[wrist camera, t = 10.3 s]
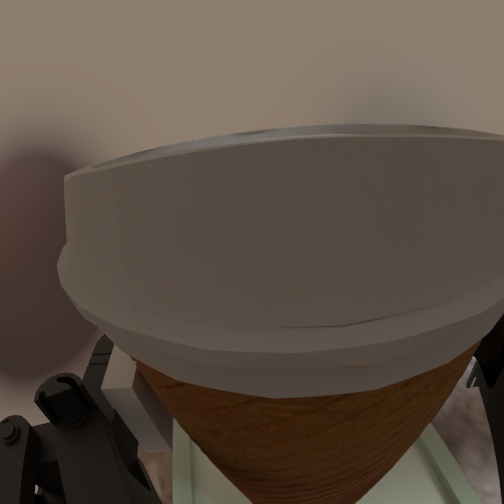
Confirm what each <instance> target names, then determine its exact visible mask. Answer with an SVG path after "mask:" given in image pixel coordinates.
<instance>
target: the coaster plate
mask: <svg viewBox="0 0 504 504" xmlns="http://www.w3.org/2000/svg"><path fill="white" fill-rule="evenodd" d="M172 496H173V504H252V503H251V501H250V500H249V499H248V498H247V497H246V496H245V495H243V493H242V492H240V491H239V490H238V488H236V487H235V486H234V485H233V484H232V483H231V482H230V481H229V480H228V479H227V478H226V477H225V476H224V475H223V474H222V473H221V471H220V470H219V469H217V468H216V466H215V465H214V464H213V463H212V462H211V461H210V460H209V459H208V457H207V456H206V455H205V454H204V453H203V452H202V451H201V450H200V448H199V447H198V446H197V445H196V444H195V443H194V442H193V441H192V440H191V438H190V437H189V435H188V434H187V433H186V432H185V431H184V430H183V429H182V428H181V427H180V425H179V424H178V422H177V420H175V419H174V417H173V452H172ZM355 504H482V502H481V500H480V499H479V497H478V495H477V494H476V492H475V490H474V489H473V487H472V486H471V484H470V482H469V481H468V479H467V477H466V476H465V474H464V473H463V471H462V469H461V468H460V466H459V465H458V463H457V461H456V460H455V458H454V457H453V455H452V454H451V452H450V451H449V449H448V447H447V446H446V444H445V443H444V441H443V440H442V438H441V437H440V435H439V434H438V432H437V431H436V429H435V428H434V426H433V425H432V423H431V422H430V423H429V424H428V426H427V427H426V428H425V429H424V431H423V432H422V434H421V435H420V436H419V438H418V439H417V440H416V441H415V443H414V444H413V445H412V446H411V447H410V448H409V449H408V450H407V452H406V453H405V454H404V455H403V456H402V457H401V458H400V460H399V461H398V462H397V463H396V464H395V465H394V467H393V468H392V469H391V470H390V471H389V472H388V473H387V474H386V475H385V476H384V477H383V478H382V479H381V480H380V481H379V482H378V483H377V484H376V485H375V486H374V487H373V488H372V489H370V490H369V491H368V492H367V494H366V495H364V496H363V497H362V498H361V499H360V500H359V501H358V502H357V503H355Z"/></svg>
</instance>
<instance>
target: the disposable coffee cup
mask: <svg viewBox="0 0 504 504" xmlns="http://www.w3.org/2000/svg"><path fill="white" fill-rule="evenodd" d="M64 186H65V187H64V189H65V191H64V192H65V217H66V232H67V244H66V245H65V246H64V247H63V250H62V252H61V255H60V258H59V261H58V264H57V268H58V273H59V278H60V283H61V286H62V287H63V289H64V290H65V292H66V293H67V295H68V296H69V298H70V299H71V301H72V302H73V303H74V305H75V306H76V308H77V309H78V310H79V312H80V313H81V314H82V316H83V317H84V318H85V319H86V320H88V321H89V322H91V323H92V324H94V325H96V326H97V327H99V328H100V329H101V330H102V331H103V332H104V334H105V335H106V336H107V337H108V338H109V339H110V340H111V341H112V342H113V343H114V344H115V345H116V346H117V347H118V348H119V349H120V350H121V351H123V352H124V353H126V354H128V355H129V356H130V357H131V359H132V360H133V361H137V362H136V364H135V365H136V367H137V369H138V370H139V372H140V373H141V374H142V376H143V377H144V378H145V380H146V381H147V382H148V384H150V385H151V388H152V390H153V392H154V393H155V394H156V395H157V397H158V398H159V399H160V400H161V402H162V403H163V404H164V405H165V407H166V409H167V410H168V411H169V413H170V414H171V415H172V416H173V417H174V419H175V420H177V422H178V424H179V425H180V427H181V428H182V429H183V430H184V431H185V432H186V433H187V434H188V435H189V437H190V438H191V440H192V441H193V442H194V443H195V444H196V445H197V446H198V447H199V448H200V450H201V451H202V452H203V453H204V454H205V455H206V456H207V457H208V459H209V460H210V461H211V462H212V463H213V464H214V465H215V466H216V468H217V469H219V470H220V471H221V473H222V474H223V475H224V476H225V477H226V478H227V479H228V480H229V481H230V482H231V483H232V484H233V485H234V486H235V487H236V488H238V490H239V491H240V492H242V493H243V495H245V496H246V497H247V498H248V499H249V500H250V501H251V503H252V504H355V503H357V502H358V501H359V500H360V499H361V498H362V497H363V496H364V495H366V494H367V492H368V491H369V490H370V489H372V488H373V487H374V486H375V485H376V484H377V483H378V482H379V481H380V480H381V479H382V478H383V477H384V476H385V475H386V474H387V473H388V472H389V471H390V470H391V469H392V468H393V467H394V465H395V464H396V463H397V462H398V461H399V460H400V458H401V457H402V456H403V455H404V454H405V453H406V452H407V450H408V449H409V448H410V447H411V446H412V445H413V444H414V443H415V441H416V440H417V439H418V438H419V436H420V435H421V434H422V432H423V431H424V429H425V428H426V427H427V426H428V424H429V423H430V422H431V421H432V419H433V418H434V417H435V416H436V414H437V413H438V411H439V410H440V408H441V407H442V405H443V404H444V402H445V401H446V400H447V398H448V397H449V396H450V394H451V392H452V391H453V389H454V387H455V386H456V384H457V382H458V381H459V380H460V378H461V377H462V375H463V374H464V372H465V370H466V368H467V366H468V364H469V363H470V361H471V359H472V357H473V355H474V353H475V351H476V350H477V348H478V346H479V344H480V343H481V341H482V339H483V337H484V336H486V335H487V334H488V333H489V332H490V331H491V330H492V328H493V327H494V326H495V324H496V323H497V322H498V321H499V319H500V318H501V316H502V315H503V314H504V135H498V134H493V133H487V132H480V131H475V130H468V129H460V128H451V127H439V126H426V125H409V124H408V125H407V124H332V125H313V126H298V127H286V128H275V129H266V130H257V131H249V132H241V133H234V134H227V135H221V136H215V137H209V138H203V139H197V140H191V141H187V142H181V143H176V144H171V145H167V146H162V147H158V148H154V149H150V150H146V151H141V152H137V153H134V154H130V155H126V156H122V157H119V158H115V159H112V160H108V161H105V162H102V163H98V164H95V165H92V166H89V167H86V168H83V169H80V170H77V171H75V172H72V173H70V174H68V175H66V176H65V177H64Z"/></svg>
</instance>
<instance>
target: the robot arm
mask: <svg viewBox="0 0 504 504" xmlns="http://www.w3.org/2000/svg"><path fill="white" fill-rule="evenodd" d="M473 356H474V357H475V358H476V362H475V364H474V367H473V369H472V371H471V374H470V376H469V378H468V380H467V383H466V385H467V388H470V386H471V383H472V381H473V379H474V377H475V376H476V380H475V382H474V385H473V387H478V386H479V389H480V393H481V396H482V399H483V403H484V407H485V410H486V414H487V418H488V422H489V426H490V431H491V435H492V440H493V445H494V450H495V455H496V461H497V467H498V473H499V480H500V488H501V498H502V504H504V314H503V315H502V316H501V318H500V319H499V321H498V322H497V323H496V324H495V326H494V327H493V328H492V330H491V331H490V332H489V333H488V334H487V335H486V336H484V337H483V339H482V341H481V343H480V344H479V346H478V348H477V350H476V351H475V353H474V355H473ZM136 362H137V361H133V360H132V359H131V357H130V356H129V355H128V354H126V353H124V352H123V351H121V350H120V349H119V348H118V347H117V346H116V345H115V344H114V343H113V342H112V341H111V340H110V339H109V338H108V337H107V336H106V335H105V334H104V335H103V336H102V337H101V339H100V340H99V341H98V342H97V343H96V346H95V348H94V351H93V353H92V357H91V358H90V361H89V366H88V367H87V369H86V372H85V374H84V377H83V380H82V381H81V379H80V377H78V376H76V375H75V374H72V373H62V374H57V375H55V376H53V377H51V378H49V379H48V380H46V381H45V382H44V383H43V384H42V385H41V386H40V387H39V389H38V390H37V392H36V395H35V399H34V402H35V403H36V404H37V406H38V407H39V408H40V409H41V411H42V412H43V413H44V415H45V416H46V417H47V418H48V419H49V421H50V422H49V423H46V424H41V425H37V426H33V427H32V426H31V425H30V424H29V423H28V422H27V420H26V419H25V418H23V417H22V416H18V415H13V416H9V417H7V418H5V419H4V420H2V421H1V422H0V504H162V502H161V500H160V498H159V496H158V494H157V492H156V490H155V488H154V486H153V484H152V482H151V480H150V478H149V476H148V474H147V472H146V469H145V467H144V465H143V463H142V462H141V460H140V459H139V458H138V456H137V452H138V443H139V445H140V446H141V447H142V448H143V450H144V451H145V452H146V453H164V452H173V416H172V415H171V414H170V413H169V411H168V410H167V409H166V407H165V405H164V404H163V403H162V402H161V400H160V399H159V398H158V397H157V395H156V394H155V393H154V392H153V390H152V388H151V385H150V384H148V382H147V381H146V380H145V378H144V377H143V376H142V374H141V373H140V372H139V370H138V369H137V367H136V365H135V364H136ZM35 484H36V485H37V486H38V491H37V494H35Z"/></svg>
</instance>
